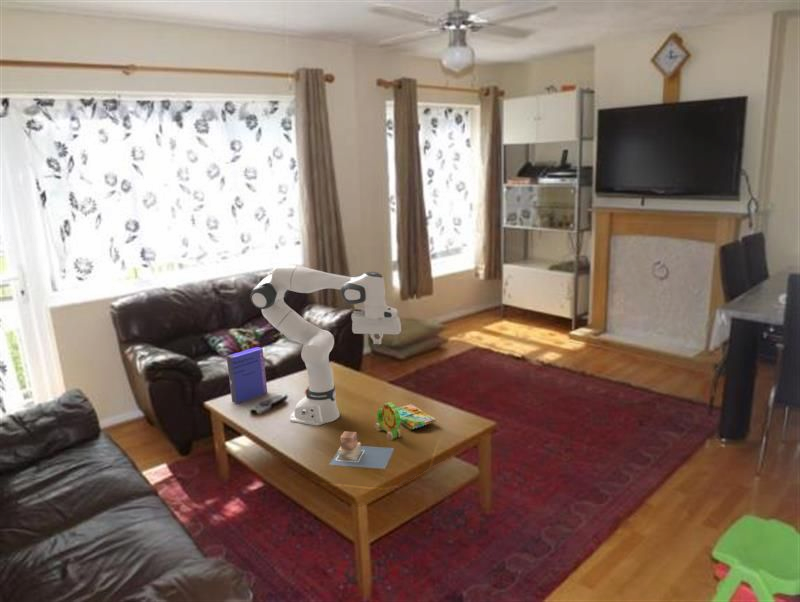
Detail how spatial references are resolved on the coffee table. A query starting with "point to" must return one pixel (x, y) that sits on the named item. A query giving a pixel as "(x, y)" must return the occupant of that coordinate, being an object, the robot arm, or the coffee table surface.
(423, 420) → the puzzle game
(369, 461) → the board
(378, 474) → the coffee table surface
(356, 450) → the ash base block
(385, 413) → the toy lion
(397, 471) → the coffee table surface
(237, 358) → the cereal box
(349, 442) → the terracotta cube
